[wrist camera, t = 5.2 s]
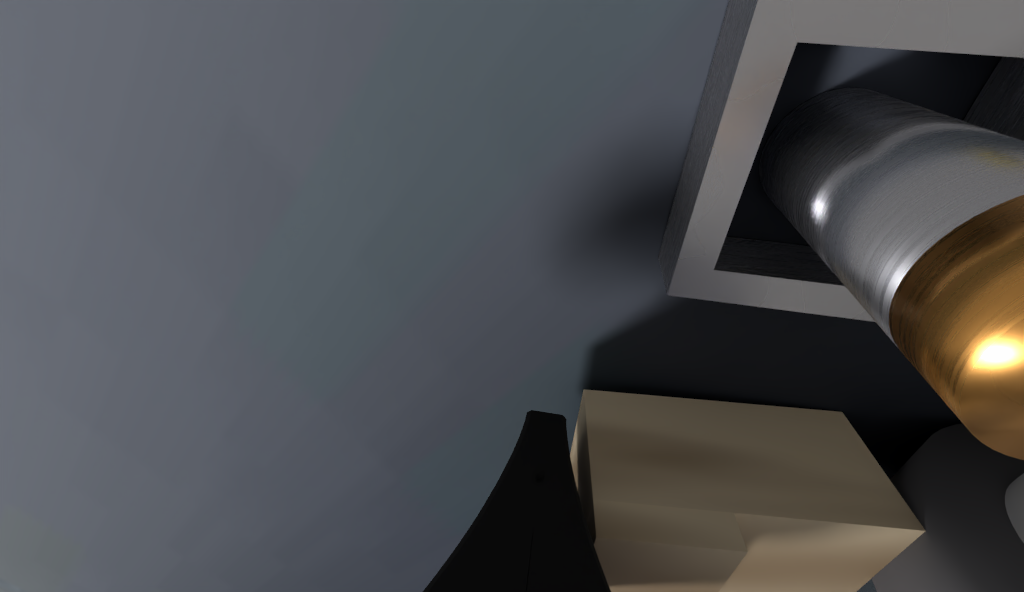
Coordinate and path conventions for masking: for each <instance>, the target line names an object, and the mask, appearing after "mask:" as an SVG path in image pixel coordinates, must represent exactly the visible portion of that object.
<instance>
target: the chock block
mask: <svg viewBox="0 0 1024 592" xmlns="http://www.w3.org/2000/svg"><path fill="white" fill-rule="evenodd" d="M570 458H571V464H572V469H573V473H574V478H575V482H576V486H577V489H578V493H579V497H580V501H581V505H582V508H583V512H584V516H585V519H586V522H587V525H588V528H589V532H590V535H591V538H592V541H593V544H594V547H595V550H596V553H597V556H598V558H599V561H600V564H601V567H602V569H603V572H604V575H605V577H606V580H607V583H608V585H609V588H610V590H611V592H856V591H857V590H859V589H860V588H861V587H862V586H863V585H864V584H865V583H867V582H868V581H869V580H870V579H871V578H872V577H874V576H875V575H876V574H877V573H878V572H879V571H880V570H882V569H883V568H884V567H885V566H886V565H887V564H888V563H890V562H891V561H892V560H893V559H894V558H895V557H896V556H898V555H899V554H900V553H901V552H902V551H903V550H905V549H906V548H907V547H908V546H909V545H910V544H911V543H913V542H914V541H915V540H916V539H917V538H918V537H919V536H921V535H922V534H923V533H924V532H925V529H924V528H923V526H922V525H921V523H920V522H919V521H918V519H917V518H916V516H915V515H914V513H913V512H912V511H911V509H910V508H909V506H908V505H907V503H906V502H905V501H904V499H903V498H902V496H901V495H900V494H899V492H898V491H897V489H896V488H895V486H894V485H893V484H892V482H891V481H890V479H889V478H888V476H887V475H886V474H885V472H884V471H883V469H882V468H881V466H880V465H879V464H878V462H877V461H876V459H875V458H874V456H873V455H872V454H871V452H870V451H869V449H868V448H867V446H866V445H865V444H864V442H863V441H862V439H861V438H860V436H859V435H858V434H857V432H856V431H855V429H854V428H853V427H852V425H851V424H850V422H849V421H848V419H847V418H846V417H845V415H844V414H843V412H838V411H826V410H815V409H803V408H792V407H780V406H769V405H757V404H746V403H734V402H723V401H711V400H700V399H689V398H677V397H666V396H654V395H643V394H631V393H620V392H608V391H597V390H585V389H584V390H583V395H582V399H581V404H580V409H579V414H578V419H577V424H576V429H575V434H574V439H573V443H572V448H571V453H570Z"/></svg>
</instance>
